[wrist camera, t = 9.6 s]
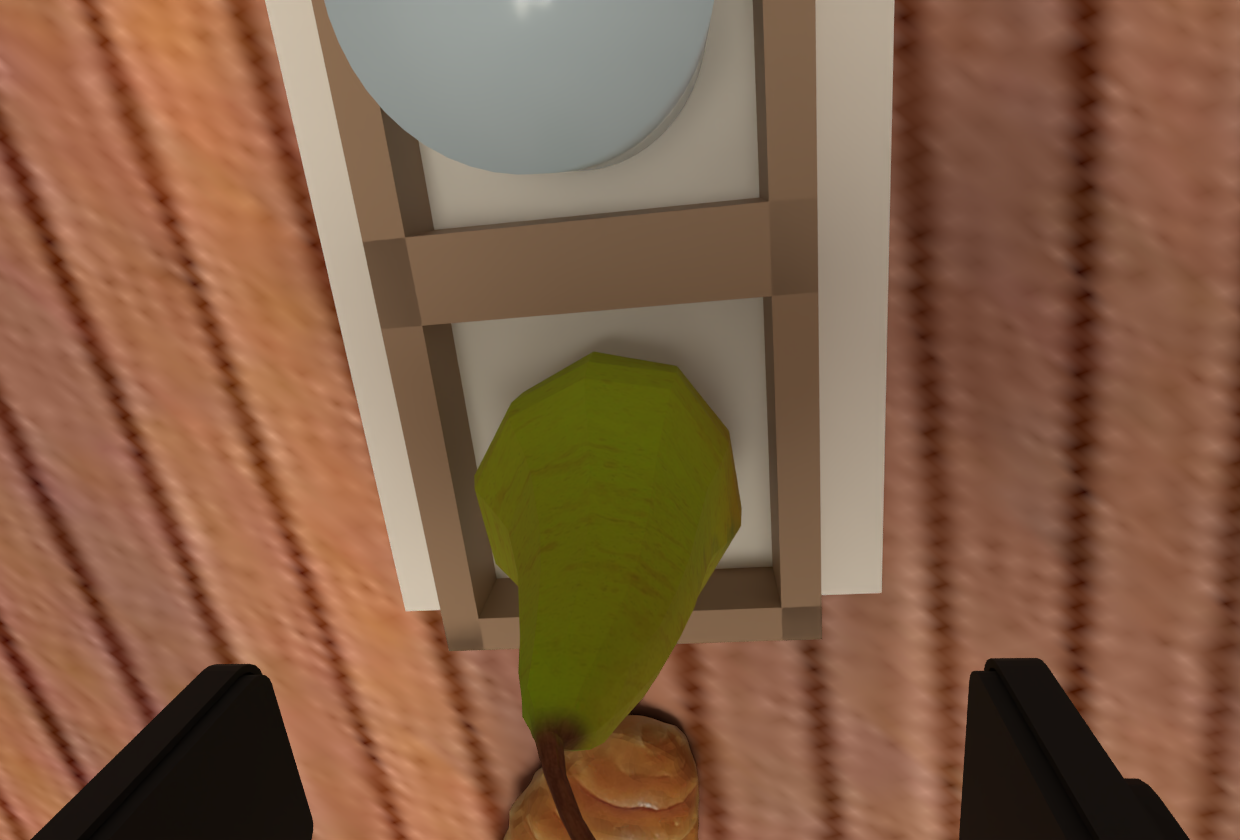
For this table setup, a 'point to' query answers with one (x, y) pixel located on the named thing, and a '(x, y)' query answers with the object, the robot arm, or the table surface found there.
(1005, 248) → the table surface
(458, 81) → the pale blue rounded block
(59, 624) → the table surface
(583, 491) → the fruit
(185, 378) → the table surface
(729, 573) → the tray
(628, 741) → the pastry
